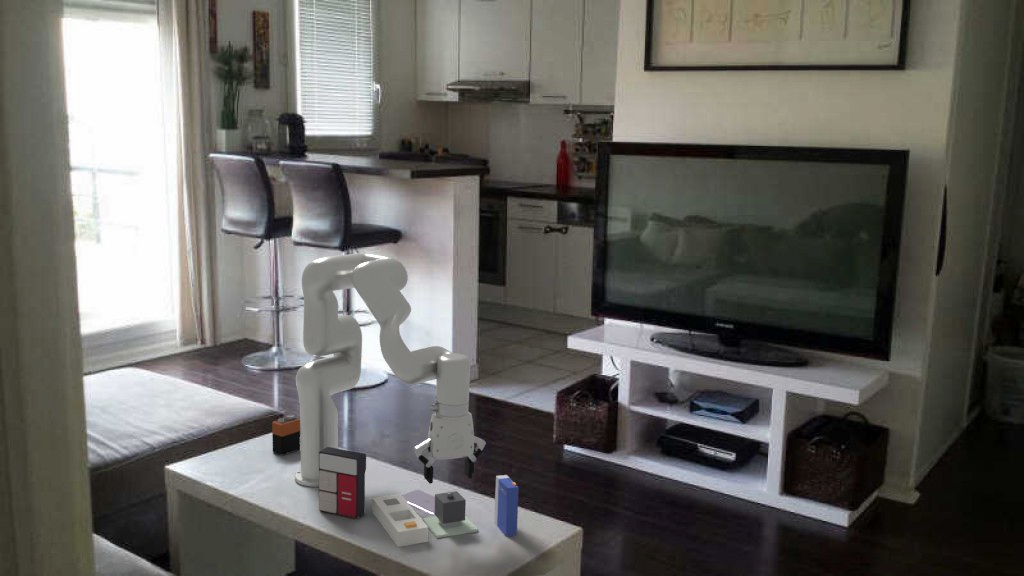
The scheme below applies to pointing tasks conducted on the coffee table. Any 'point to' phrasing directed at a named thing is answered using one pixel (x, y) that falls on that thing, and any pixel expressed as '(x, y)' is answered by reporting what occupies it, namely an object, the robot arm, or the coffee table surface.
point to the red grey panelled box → (342, 482)
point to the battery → (286, 435)
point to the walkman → (506, 505)
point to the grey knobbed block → (450, 509)
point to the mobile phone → (421, 501)
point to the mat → (444, 532)
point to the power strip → (400, 520)
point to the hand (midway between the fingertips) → (448, 478)
